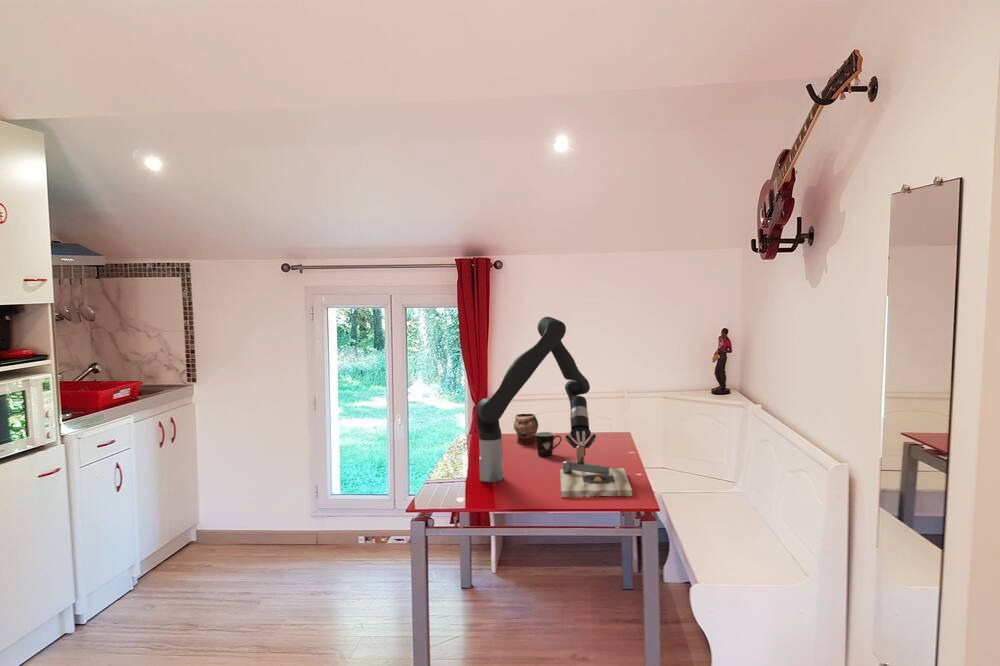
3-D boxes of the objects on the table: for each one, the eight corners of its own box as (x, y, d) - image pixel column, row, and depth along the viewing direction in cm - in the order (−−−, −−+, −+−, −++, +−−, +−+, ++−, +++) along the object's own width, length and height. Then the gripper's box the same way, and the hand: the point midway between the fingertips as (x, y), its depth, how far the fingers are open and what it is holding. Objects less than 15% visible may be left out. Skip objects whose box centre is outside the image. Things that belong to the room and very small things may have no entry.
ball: (590, 483, 260) (596, 478, 261) (597, 489, 258) (603, 483, 260) (591, 478, 257) (597, 473, 259) (598, 484, 256) (604, 479, 257)
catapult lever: (561, 473, 268) (560, 445, 268) (565, 470, 271) (564, 443, 271) (606, 479, 258) (606, 450, 257) (610, 476, 261) (609, 448, 260)
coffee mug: (534, 457, 303) (533, 436, 302) (537, 452, 311) (536, 431, 310) (559, 458, 300) (558, 436, 299) (562, 453, 308) (561, 432, 308)
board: (561, 497, 246) (561, 491, 246) (560, 475, 274) (560, 469, 274) (632, 496, 244) (631, 489, 244) (623, 474, 272) (623, 468, 272)
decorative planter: (516, 437, 344) (515, 410, 343) (539, 436, 342) (538, 410, 341) (512, 446, 324) (511, 418, 323) (537, 446, 323) (536, 418, 322)
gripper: (563, 415, 276) (565, 452, 265) (595, 414, 275) (598, 451, 264) (563, 424, 281) (565, 461, 271) (595, 423, 280) (598, 460, 270)
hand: (582, 456), depth 267 cm, fingers closed
